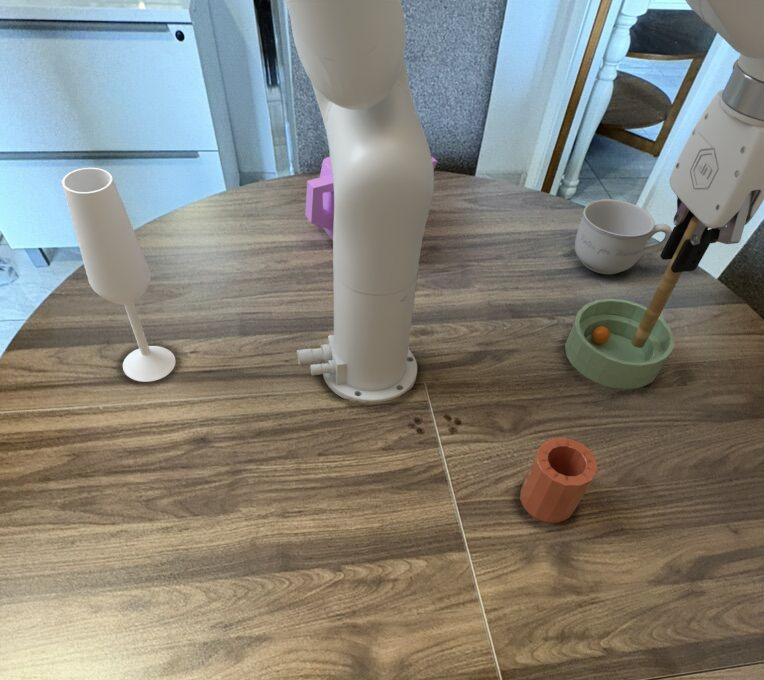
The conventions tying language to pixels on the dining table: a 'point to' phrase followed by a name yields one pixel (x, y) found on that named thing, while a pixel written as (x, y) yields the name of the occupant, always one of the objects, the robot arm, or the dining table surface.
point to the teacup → (616, 235)
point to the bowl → (617, 345)
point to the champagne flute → (114, 260)
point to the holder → (557, 479)
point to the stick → (661, 293)
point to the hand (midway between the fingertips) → (677, 262)
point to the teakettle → (324, 198)
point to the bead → (600, 335)
